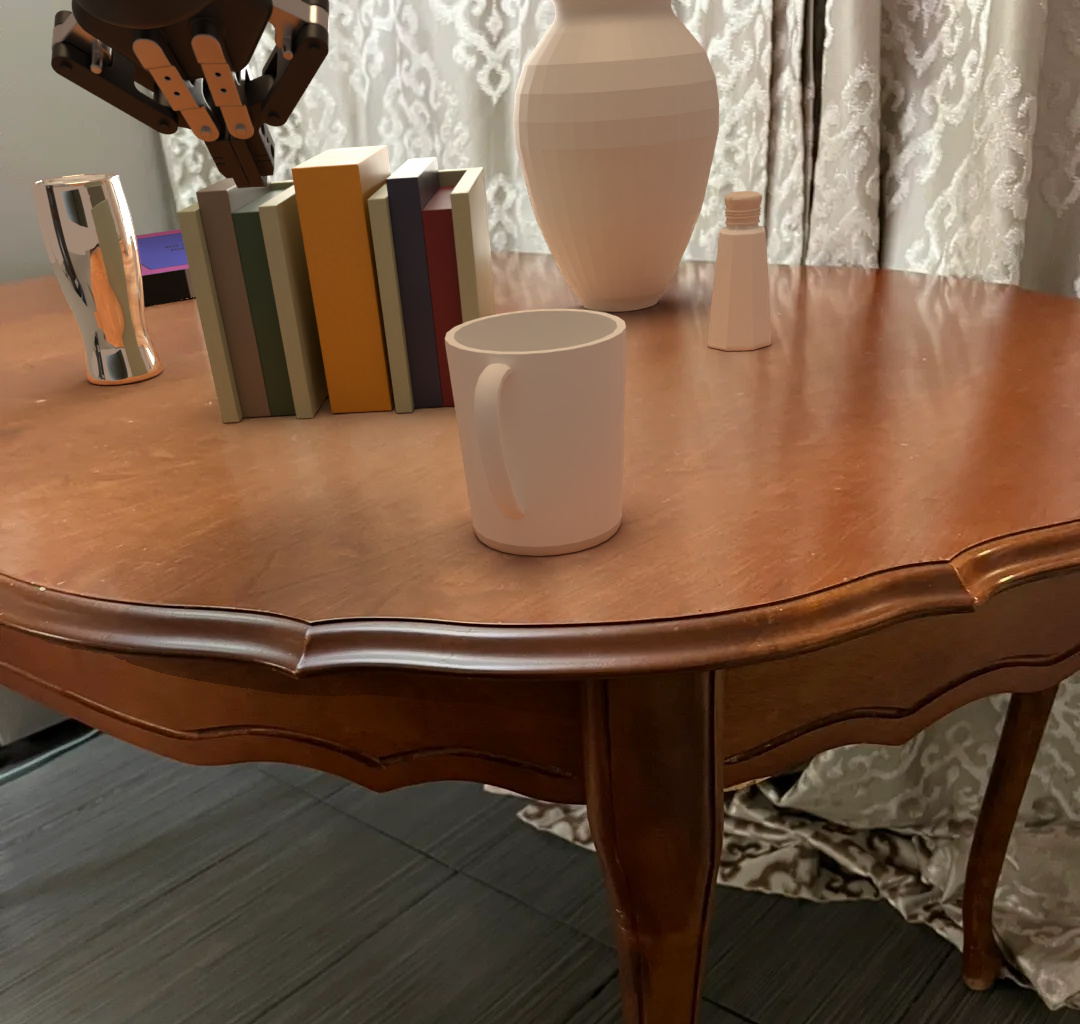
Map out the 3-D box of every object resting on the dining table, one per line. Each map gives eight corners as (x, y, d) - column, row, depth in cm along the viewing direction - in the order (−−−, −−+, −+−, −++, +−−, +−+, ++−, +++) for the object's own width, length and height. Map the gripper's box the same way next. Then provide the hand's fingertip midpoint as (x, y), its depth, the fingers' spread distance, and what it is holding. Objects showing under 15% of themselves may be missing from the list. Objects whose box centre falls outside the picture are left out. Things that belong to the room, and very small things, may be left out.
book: (132, 277, 116) (80, 243, 138) (139, 307, 117) (87, 268, 140) (322, 247, 124) (244, 220, 146) (327, 276, 126) (249, 244, 148)
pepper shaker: (720, 332, 93) (723, 187, 87) (782, 336, 90) (790, 187, 85) (694, 349, 89) (695, 198, 83) (759, 353, 87) (765, 199, 81)
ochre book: (331, 413, 80) (290, 168, 72) (361, 368, 91) (328, 149, 82) (391, 410, 80) (357, 163, 72) (414, 365, 90) (387, 144, 82)
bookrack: (222, 423, 80) (172, 195, 72) (268, 370, 92) (229, 169, 84) (487, 408, 79) (467, 175, 71) (499, 356, 91) (482, 151, 83)
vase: (493, 321, 101) (465, -5, 88) (572, 280, 115) (558, -9, 101) (678, 330, 94) (678, -24, 81) (740, 285, 108) (749, -25, 94)
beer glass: (110, 364, 97) (59, 174, 89) (183, 363, 96) (138, 170, 88) (66, 387, 91) (8, 186, 83) (142, 387, 90) (91, 182, 82)
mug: (506, 489, 65) (490, 306, 60) (652, 502, 62) (650, 310, 57) (418, 566, 57) (391, 362, 51) (582, 586, 54) (571, 370, 48)
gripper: (284, -253, 41) (380, 101, 58) (-63, -222, 42) (132, 119, 59) (279, -86, 39) (379, 229, 56) (-82, -57, 40) (124, 245, 57)
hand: (253, 172), depth 57 cm, fingers closed
